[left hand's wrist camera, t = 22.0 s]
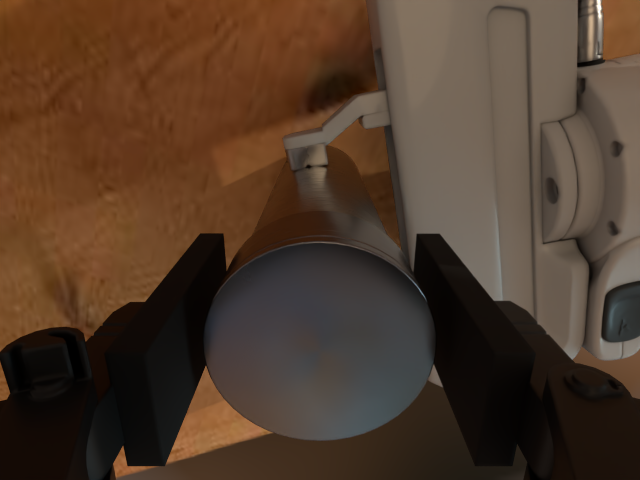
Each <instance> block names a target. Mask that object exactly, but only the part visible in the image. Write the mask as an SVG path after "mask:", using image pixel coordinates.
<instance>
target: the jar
mask: <svg viewBox="0 0 640 480" xmlns="http://www.w3.org/2000/svg"><path fill="white" fill-rule="evenodd" d="M326 151H327V157H328V164H327V165H322V166H314V167H312V166H310V165H307V166H306V167H305V168H304V169H301V170H297V171H290V168H289V164H288V160H287V162H286V163H285V165H284V166H283V168H282V170H281V173H280V175H279V177H278V179H277V182H276V184H275V186H274V188H273V190H272V193H271V195H270V197H269V199H268V202H267V204H266V206H265V208H264V210H263V213H262V215H261V217H260V219H259V221H258V224H257V226H256V228H255V230H254V233H256V232H257V231H258V230H260V229H261V228H263V227H264V226H266V225H267V224H269V223H271V222H273V221H275V220H277V219H280V218H283V217H286V216H288V215H291V214H296V213H301V212H308V211H333V212H338V213H344V214H348V215H351V216H354V217H357V218H360V219H362V220H364V221H366V222H368V223H371V224H372V225H374V226H375V227H377V228H378V229H380V230H382V231H383V232H384V233H385V234H386V235H387V233H386V231H385V229H384V226H383V224H382V222H381V220H380V218H379V215H378V213H377V211H376V209H375V206H374V204H373V202H372V200H371V197H370V195H369V193H368V191H367V188H366V186H365V184H364V182H363V180H362V177H361V175H360V173H359V171H358V168H357V166H356V165H355V163H354V162H353V161H352V159H351V158H350V157H349V156H348V155H347V154H345V153H344V152H343V151H341V150H339V149H337V148H334V147H331V146H326ZM254 233H253V234H254ZM387 236H388V235H387Z"/></svg>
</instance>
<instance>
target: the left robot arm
mask: <svg viewBox="0 0 640 480" xmlns="http://www.w3.org/2000/svg"><path fill="white" fill-rule="evenodd" d="M226 272H227V270H226V258H225V246H224V235H223V233H200V235H199V236H198V237H197V238H196V239H195V241H194V242H193V243H192V244H191V246H190V247H189V248H188V249H187V251H186V252H185V253H184V254H183V256H182V257H181V258H180V259H179V261H178V262H177V263H176V264H175V266H174V267H173V268H172V269H171V271H170V272H169V273H168V274H167V276H166V277H165V278H164V279H163V280H162V282H161V283H160V284H159V285H158V287H157V288H156V289H155V290H154V292H153V293H152V294H151V295H150V297H149V298H148V299H147V300H146V302H129V303H128V304H126V305H124V306H123V307H121V308H119V309H118V310H116V311H114V312H113V313H112V314H111V315H110V316H109V317H108V318H107V319H106V321H105V322H104V323H103V326H100V327H99V328H98V329H97V330H96V332H95V333H94V336H91V337H90V338H89V339H88V340H87V341H86V342H85V338H84V333H82V332H81V331H80V330H78V329H76V328H70V327H55V328H48V329H44V330H40V331H35V332H33V333H30V334H28V335H25V336H23V337H20V338H18V339H17V340H15V341H13V342H12V343H10V344H8V345H7V346H6V347H5V348H4V349H3V350H2V351H1V352H0V362H1V365H2V368H3V371H4V374H5V378H6V381H7V384H8V387H9V390H10V395H9V397H8V399H7V400H3V401H0V480H116V477H115V471H114V466H113V463H114V461H115V459H116V457H117V455H118V454H119V452H120V450H121V448H122V446H124V451H125V456H126V461H127V465H128V466H165V464H166V462H167V459H168V457H169V454H170V452H171V450H172V447H173V445H174V442H175V440H176V437H177V435H178V432H179V430H180V427H181V425H182V423H183V420H184V418H185V415H186V413H187V410H188V408H189V405H190V403H191V400H192V398H193V396H194V393H195V391H196V388H197V386H198V383H199V381H200V378H201V376H202V373H203V371H204V369H205V366H206V363H205V358H204V353H203V339H202V338H203V328H204V322H205V319H206V315H207V311H208V309H209V307H210V305H211V302H212V300H213V298H214V296H215V294H216V292H217V290H218V288H219V286H220V284H221V282H222V280H223V278H224V276H225V274H226ZM413 273H414V275H415V277H416V279H417V281H418V283H419V285H420V287H421V289H422V291H423V293H424V295H425V297H426V299H427V301H428V303H429V305H430V308H431V310H432V313H433V317H434V320H435V324H436V332H437V350H436V356H435V361H434V366H435V369H436V371H437V373H438V376H439V378H440V381H441V383H442V386H443V388H444V391H445V393H446V395H447V398H448V400H449V403H450V405H451V408H452V410H453V413H454V415H455V418H456V420H457V422H458V425H459V427H460V430H461V432H462V435H463V437H464V440H465V442H466V445H467V447H468V450H469V452H470V454H471V457H472V459H473V462H474V464H475V466H512V465H513V461H514V456H515V451H516V446H517V444H518V446H519V448H520V450H521V451H522V453H523V455H524V457H525V459H526V460H527V466H526V471H525V475H524V480H640V399H637V398H633V397H632V396H631V394H630V392H629V391H628V390H627V389H626V388H625V386H624V385H623V384H622V383H621V382H620V381H618V380H617V379H615V378H614V377H612V376H611V375H610V374H607V373H605V372H603V371H601V370H599V369H596V368H594V367H590V366H586V365H583V364H578V363H575V362H574V361H573V360H572V359H571V358H570V357H569V356H568V355H567V354H566V353H565V351H564V350H563V349H562V348H561V347H560V346H559V345H558V344H557V343H556V342H555V341H554V339H553V338H552V337H551V336H550V335H549V334H547V333H546V331H545V330H544V329H543V327H542V326H541V325H540V324H538V322H537V321H536V320H535V319H534V318H533V317H532V315H531V314H530V313H529V312H528V311H527V310H525V309H523V308H522V307H520V306H518V305H517V304H515V303H513V302H511V301H494V300H493V299H492V298H491V297H490V295H489V294H488V293H487V292H486V290H485V289H484V288H483V287H482V285H481V284H480V283H479V282H478V280H477V279H476V278H475V277H474V276H473V274H472V273H471V272H470V271H469V269H468V268H467V267H466V266H465V264H464V263H463V262H462V261H461V259H460V258H459V257H458V256H457V254H456V253H455V252H454V251H453V249H452V248H451V247H450V246H449V244H448V243H447V242H446V241H445V240H444V238H443V237H442V236H441V235H440V233H417V234H416V246H415V258H414V270H413Z"/></svg>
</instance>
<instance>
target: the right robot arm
mask: <svg viewBox="0 0 640 480" xmlns="http://www.w3.org/2000/svg"><path fill="white" fill-rule="evenodd" d="M601 4H602V0H366V5H367V12H368V19H369V26H370V33H371V40H372V47H373V54H374V62H375V69H376V76H377V83H378V90H376V91H372V92H367V93H362V94H358V95H354V96H353V97H352V98H350V99H349V100H348V101H347V102H346V103H345V104H344V105H343V106H342V107H340V108H339V109H338V110H337V111H336V112H335V113H334V114H333V115H332V116H331V117H329V118H328V119H327V120H326V121H325V122H324V123H323V124H322V127H320V128H315V129H310V130H306V131H301V132H296V133H292V134H289V135H285V136H284V137H283V143H284V148H285V152H286V156H287V160H288V164H289V168H290V171H297V170H301V169H304V168H305V167H306V166H307V165H310V166H312V167H314V166H322V165H327V164H328V157H327V151H326V146H327V145H328V144H329V143H330V142H331V141H333V140H334V139H335V138H336V137H337V136H338V135H339V134H341V133H342V132H343V131H344V130H345V129H346V128H347V127H349V126H350V125H351V124H352V123H353V122H354V121H355V120H357V119H359V123H360V124H361V125H362V126H363V127H364V128H365V129H371V128H376V127H381V126H384V132H385V139H386V146H387V153H388V160H389V167H390V174H391V181H392V188H393V195H394V202H395V209H396V216H397V223H398V230H399V237H400V244H401V251H402V253H403V254H404V256H405V257H406V259H407V261H408V263H409V265H410V267H411V269H412V271H413V270H414V258H415V246H416V234H417V233H440V235H441V236H442V237H443V238H444V240H445V241H446V242H447V243H448V244H449V246H450V247H451V248H452V249H453V251H454V252H455V253H456V254H457V256H458V257H459V258H460V259H461V261H462V262H463V263H464V264H465V266H466V267H467V268H468V269H469V271H470V272H471V273H472V274H473V276H474V277H475V278H476V279H477V280H478V282H479V283H480V284H481V285H482V287H483V288H484V289H485V290H486V292H487V293H488V294H489V295H490V297H491V298H492V299H493V300H494V301H511V302H513V303H515V304H517V305H518V306H520V307H522V308H523V309H525V310H527V311H528V312H529V313H530V314H531V315H532V317H533V318H534V319H535V320H536V321H537V322H538V324H540V325H541V326H542V327H543V329H544V330H545V331H546V333H547V334H549V335H550V336H551V337H552V338H553V339H554V341H555V342H556V343H557V344H558V345H559V346H560V347H561V348H562V349H563V350H564V351H565V353H566V354H567V355H568V356H569V357H570V358H571V359H573V358H574V357H575V356H576V355H577V353H578V352H579V350H580V348H581V347H584V348H585V349H586V350H587V351H588V352H590V353H591V354H592V355H593V356H595V357H596V358H598V359H600V360H616V359H622V358H626V357H629V356H631V355H633V354H635V353H636V352H637V351H638V350H639V349H640V53H639V54H634V55H629V56H625V57H620V58H615V59H609V60H603V34H604V15H603V12H602V11H603V5H601ZM428 380H429V381H430V382H432V383H434V384H436V385H439V386H441V387H443V386H442V383H441V381H440V378H439V376H438V373H437V371H436V369H435V366H434V365H433V368H432V371H431V374H430V376H429V378H428Z"/></svg>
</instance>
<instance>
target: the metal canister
mask: <svg viewBox="0 0 640 480" xmlns="http://www.w3.org/2000/svg"><path fill="white" fill-rule="evenodd" d="M202 339H203V353H204V358H205V363H206V366H207V369H208V372H209V374H210V377H211V379H212V381H213V383H214V384H215V386H216V388H217V390H218V391H219V392H220V394H221V395H222V396H223V398H224V399H225V400H226V401H227V402H228V403H229V404H230V405H231V406H232V407H233V409H235V410H236V411H237V412H238V413H240V414H241V415H242V416H243V417H245V418H246V419H248V420H249V421H251V422H252V423H254V424H256V425H258V426H260V427H262V428H264V429H266V430H268V431H271V432H273V433H276V434H279V435H282V436H287V437H290V438H295V439H302V440H313V441H327V440H338V439H344V438H350V437H353V436H357V435H360V434H364V433H366V432H369V431H371V430H374V429H376V428H378V427H380V426H382V425H384V424H386V423H387V422H389V421H390V420H392V419H393V418H395V417H396V416H398V415H399V414H400V413H401V412H402V411H404V410H405V409H406V408H407V407H408V406H409V405H410V404H411V403H412V402H413V401H414V399H415V398H416V397H417V396H418V395H419V393H420V392H421V390H422V389H423V387H424V386H425V384H426V382H427V380H428V378H429V376H430V374H431V371H432V368H433V365H434V361H435V356H436V350H437V332H436V324H435V320H434V317H433V313H432V310H431V308H430V305H429V303H428V301H427V299H426V297H425V295H424V293H423V291H422V289H421V287H420V285H419V283H418V281H417V279H416V277H415V275H414V273H413V271H412V269H411V267H410V265H409V263H408V261H407V259H406V257H405V256H404V254H403V253H402V251H401V250H400V248H399V247H398V246H397V245H396V244H395V242H394V241H393V240H392V239H391V238H390V237H389V236H387V235H386V234H385V233H384V232H383V231H382V230H380V229H378V228H377V227H375V226H374V225H372V224H371V223H368V222H366V221H364V220H362V219H360V218H357V217H354V216H351V215H348V214H344V213H338V212H333V211H308V212H301V213H296V214H291V215H288V216H286V217H283V218H280V219H277V220H275V221H273V222H271V223H269V224H267V225H266V226H264V227H263V228H261V229H260V230H258V231H257V232H256V233H254V234H253V235H252V236H251V237H250V238H249V239H248V240H247V241H246V242H245V243H244V244H243V245H242V247H241V248H240V249H239V250H238V252H237V254H236V255H235V257H234V258H233V260H232V262H231V264H230V266H229V268H228V270H227V272H226V274H225V276H224V278H223V280H222V282H221V284H220V286H219V288H218V290H217V292H216V294H215V296H214V298H213V300H212V302H211V305H210V307H209V309H208V311H207V315H206V319H205V322H204V328H203V338H202Z"/></svg>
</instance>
